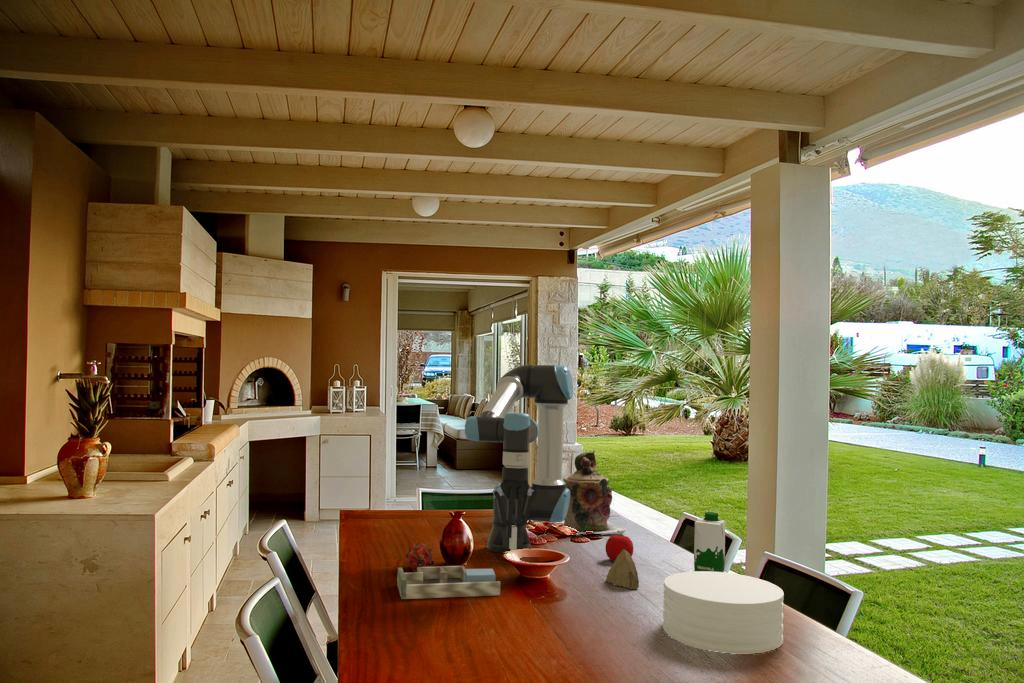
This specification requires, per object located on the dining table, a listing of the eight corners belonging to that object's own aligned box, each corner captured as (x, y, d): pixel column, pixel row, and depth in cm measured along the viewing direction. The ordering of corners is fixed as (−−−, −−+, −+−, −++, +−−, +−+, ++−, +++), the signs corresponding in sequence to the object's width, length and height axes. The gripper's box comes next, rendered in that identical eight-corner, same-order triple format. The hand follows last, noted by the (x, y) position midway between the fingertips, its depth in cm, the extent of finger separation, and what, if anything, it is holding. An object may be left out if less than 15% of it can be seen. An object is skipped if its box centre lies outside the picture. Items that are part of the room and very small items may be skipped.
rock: (649, 582, 219) (640, 568, 229) (633, 559, 218) (625, 546, 228) (618, 604, 219) (611, 589, 229) (602, 581, 218) (595, 567, 227)
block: (492, 586, 219) (492, 568, 220) (495, 593, 212) (495, 575, 213) (464, 586, 218) (465, 568, 218) (466, 593, 211) (467, 575, 212)
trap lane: (486, 576, 229) (486, 559, 229) (500, 595, 210) (500, 576, 210) (395, 579, 222) (396, 562, 222) (401, 599, 204) (402, 580, 204)
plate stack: (694, 608, 203) (695, 565, 204) (800, 633, 186) (800, 586, 186) (642, 634, 182) (643, 586, 182) (755, 665, 164) (756, 611, 164)
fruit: (632, 558, 257) (632, 528, 257) (633, 565, 248) (634, 534, 248) (604, 557, 258) (605, 527, 258) (605, 563, 249) (606, 532, 249)
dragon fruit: (420, 569, 241) (422, 585, 229) (398, 554, 239) (399, 569, 228) (436, 548, 241) (439, 563, 230) (415, 533, 240) (417, 547, 228)
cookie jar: (546, 525, 310) (548, 446, 312) (601, 523, 318) (603, 446, 319) (569, 538, 287) (571, 453, 288) (628, 535, 294) (629, 452, 296)
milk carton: (726, 578, 234) (727, 513, 235) (720, 585, 226) (721, 518, 227) (698, 574, 238) (699, 510, 239) (690, 581, 230) (691, 514, 231)
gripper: (496, 467, 214) (493, 552, 213) (540, 468, 217) (538, 551, 216) (490, 464, 221) (487, 546, 220) (533, 465, 224) (531, 545, 223)
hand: (512, 549), depth 218 cm, fingers closed
